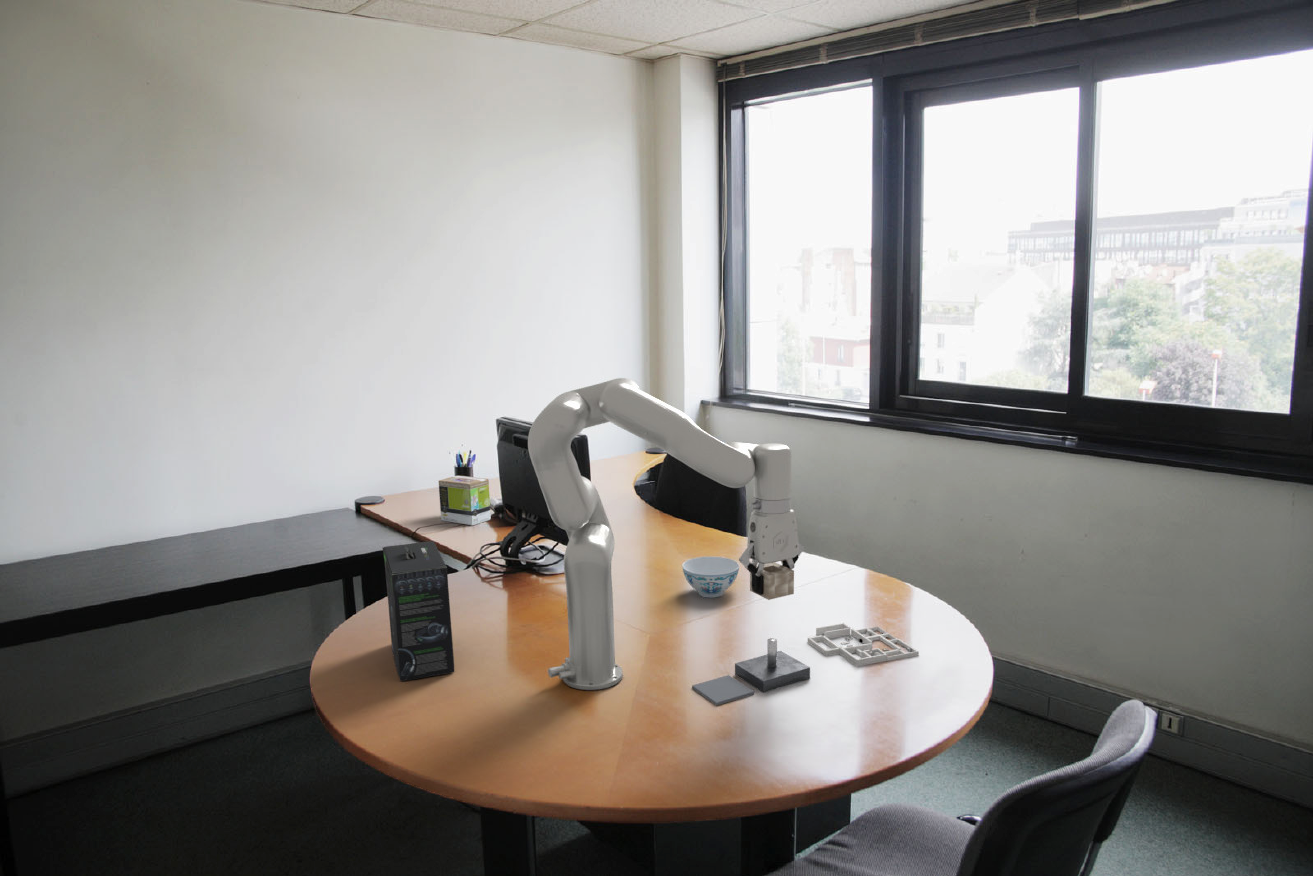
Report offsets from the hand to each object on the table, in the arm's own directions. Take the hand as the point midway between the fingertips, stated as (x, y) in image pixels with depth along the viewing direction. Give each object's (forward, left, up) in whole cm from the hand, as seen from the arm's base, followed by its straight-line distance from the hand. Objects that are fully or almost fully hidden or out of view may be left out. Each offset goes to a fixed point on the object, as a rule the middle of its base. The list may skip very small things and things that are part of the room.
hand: (771, 588), depth 188 cm
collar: (0, 0, -1) cm, 1 cm away
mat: (-12, 0, -19) cm, 23 cm away
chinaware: (+17, +49, -20) cm, 55 cm away
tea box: (-14, +157, -20) cm, 159 cm away
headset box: (-60, +50, -20) cm, 80 cm away
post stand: (0, 0, -19) cm, 19 cm away
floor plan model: (+23, +3, -20) cm, 30 cm away
